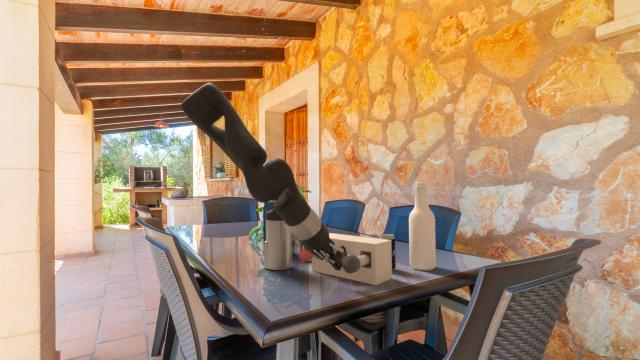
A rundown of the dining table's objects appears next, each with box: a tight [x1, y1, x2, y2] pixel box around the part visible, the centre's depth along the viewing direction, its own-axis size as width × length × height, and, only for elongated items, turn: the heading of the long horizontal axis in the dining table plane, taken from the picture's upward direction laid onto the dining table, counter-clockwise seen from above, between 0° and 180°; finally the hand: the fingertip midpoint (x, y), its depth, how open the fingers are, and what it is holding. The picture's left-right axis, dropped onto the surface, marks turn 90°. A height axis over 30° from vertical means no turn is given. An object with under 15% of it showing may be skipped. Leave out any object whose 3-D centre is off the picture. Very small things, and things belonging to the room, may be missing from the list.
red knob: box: [298, 249, 315, 263], centre depth 114 cm, size 9×4×4 cm, turn 137°
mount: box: [311, 232, 393, 286], centre depth 113 cm, size 9×26×12 cm, turn 47°
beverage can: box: [377, 233, 397, 272], centre depth 118 cm, size 6×6×12 cm
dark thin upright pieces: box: [262, 200, 296, 255], centre depth 147 cm, size 6×12×25 cm, turn 114°
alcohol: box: [408, 181, 437, 272], centre depth 121 cm, size 9×9×30 cm
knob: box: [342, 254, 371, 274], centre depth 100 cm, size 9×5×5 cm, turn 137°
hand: (339, 267), depth 94 cm, fingers closed
